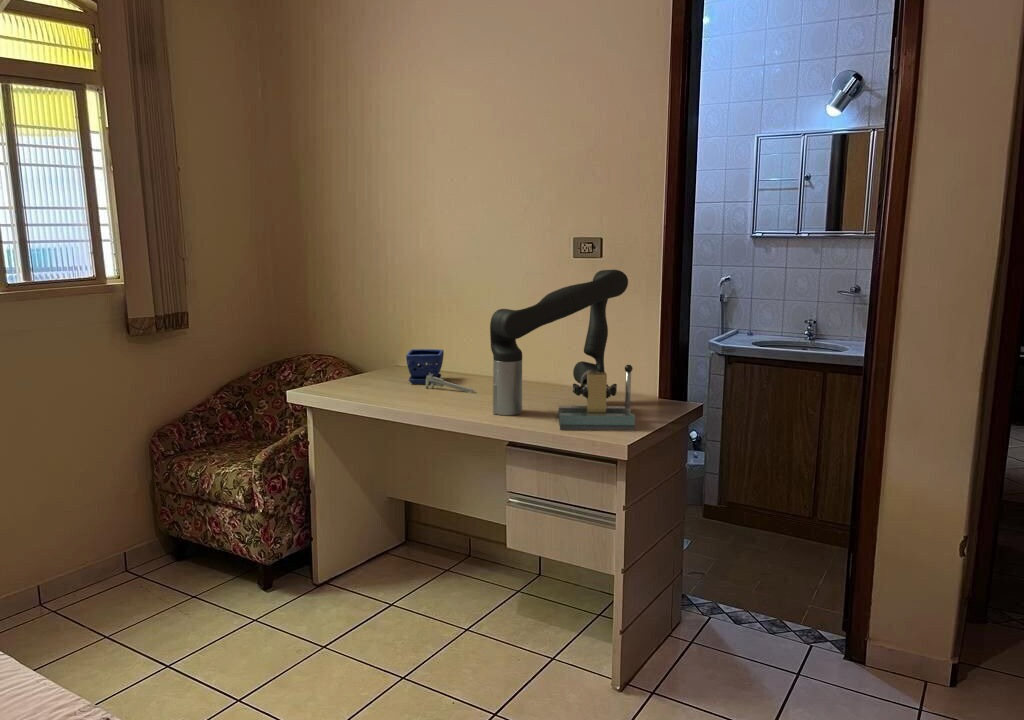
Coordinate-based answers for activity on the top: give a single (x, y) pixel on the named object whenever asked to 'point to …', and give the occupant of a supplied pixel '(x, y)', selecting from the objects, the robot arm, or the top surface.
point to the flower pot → (424, 364)
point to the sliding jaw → (609, 409)
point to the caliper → (444, 383)
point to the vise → (596, 421)
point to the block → (596, 392)
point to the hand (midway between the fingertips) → (597, 394)
